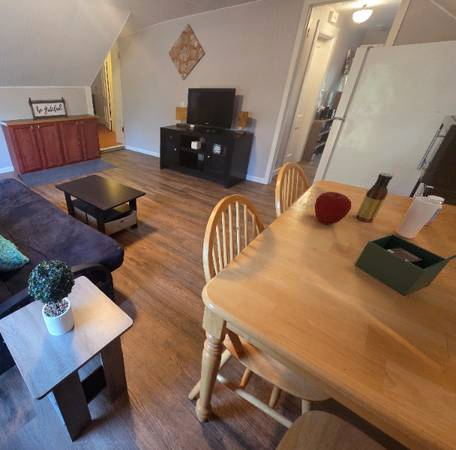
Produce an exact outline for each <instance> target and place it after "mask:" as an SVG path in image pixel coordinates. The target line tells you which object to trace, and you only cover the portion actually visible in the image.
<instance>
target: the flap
mask: <svg viewBox="0 0 456 450" xmlns="http://www.w3.org/2000/svg"><path fill="white" fill-rule="evenodd" d="M455 259H456V254H454V255H452V256H449V257H447V258H445V260H443V261H441V262H438V263H436V264H434V265H432V266H430V267H427V268H426V269H430V268H432V267H435V266H437V265H440V264H442V263H445V262H447V261H449V262H450V261H452V260H455Z"/></svg>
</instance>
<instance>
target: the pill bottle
mask: <svg viewBox="0 0 456 450" xmlns="http://www.w3.org/2000/svg"><path fill="white" fill-rule="evenodd" d="M427 197H428V198H432V199H435V200H438V201H439V202H441V205H440V207H439V208H438V210H437V211H436V212H435V214H434V215H433V216H432V217H431V218H430V220H429V221H428V222H427V223H426V224H425V225H424V226H430V225H431V224H432V223H433V222H434V220H435V219H436V217H437V216H438V215H439V214H440V211H442V208H443V205H442V204H443V203H444V201H445V198H443V197H441V196H437V195H428V196H427Z"/></svg>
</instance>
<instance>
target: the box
mask: <svg viewBox="0 0 456 450" xmlns="http://www.w3.org/2000/svg"><path fill="white" fill-rule="evenodd" d="M387 251H389V252H391V253H393V254H394V255H396V256H398V257H400V258H402V259H404V260H406V261H408V262H410V263H412V264H414V265H415V266H418V265H419V263H420V262H421V261H422V259H420V258H418V257H416V256H415V255H413V254H411V253H409V252H408V251H406V250H404V249H402V248H396V249H390V250H387Z"/></svg>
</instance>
